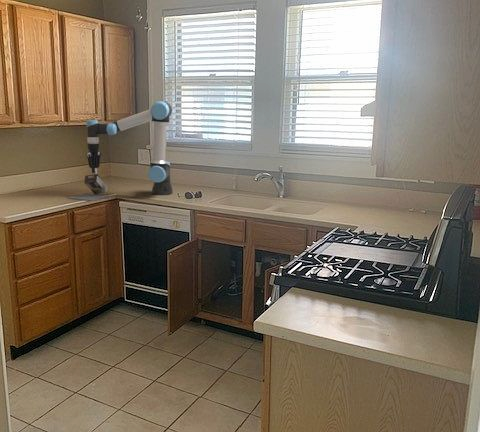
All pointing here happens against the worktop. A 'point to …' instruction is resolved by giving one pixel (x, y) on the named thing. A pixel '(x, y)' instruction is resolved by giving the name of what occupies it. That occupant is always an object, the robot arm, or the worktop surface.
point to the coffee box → (95, 184)
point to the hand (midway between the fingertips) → (94, 177)
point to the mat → (88, 197)
